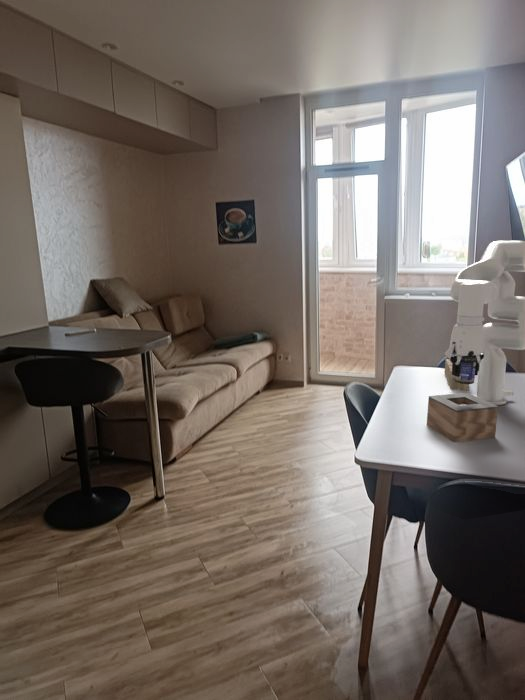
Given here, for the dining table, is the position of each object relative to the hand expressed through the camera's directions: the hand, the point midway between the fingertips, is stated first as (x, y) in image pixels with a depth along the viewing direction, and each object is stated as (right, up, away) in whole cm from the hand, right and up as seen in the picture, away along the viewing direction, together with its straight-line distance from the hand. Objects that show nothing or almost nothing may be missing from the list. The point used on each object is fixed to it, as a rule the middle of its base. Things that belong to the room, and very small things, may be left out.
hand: (464, 374), depth 160 cm
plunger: (0, -12, +3) cm, 13 cm away
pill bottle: (0, -3, +1) cm, 3 cm away
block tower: (+22, -7, +63) cm, 68 cm away
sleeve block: (0, -19, +4) cm, 20 cm away
